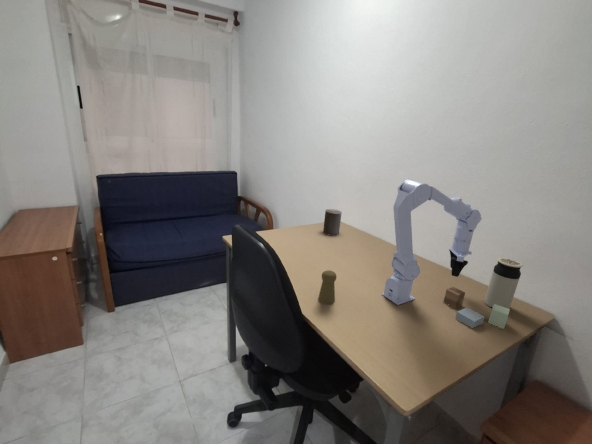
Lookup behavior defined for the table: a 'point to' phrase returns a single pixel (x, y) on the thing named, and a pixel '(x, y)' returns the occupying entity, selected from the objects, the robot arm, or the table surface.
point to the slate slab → (469, 317)
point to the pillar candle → (332, 221)
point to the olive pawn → (327, 287)
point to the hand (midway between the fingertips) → (454, 271)
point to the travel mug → (503, 283)
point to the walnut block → (454, 297)
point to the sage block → (499, 316)
